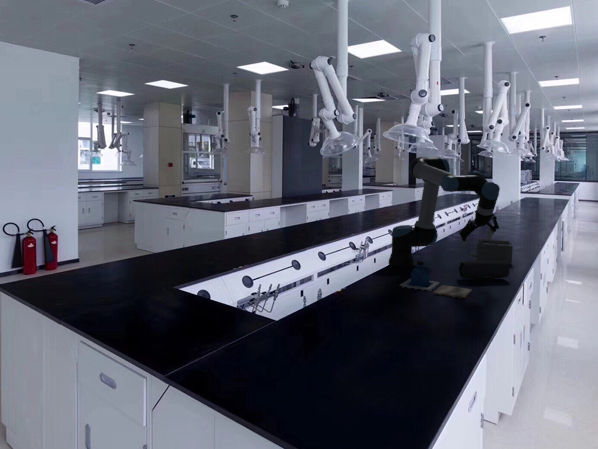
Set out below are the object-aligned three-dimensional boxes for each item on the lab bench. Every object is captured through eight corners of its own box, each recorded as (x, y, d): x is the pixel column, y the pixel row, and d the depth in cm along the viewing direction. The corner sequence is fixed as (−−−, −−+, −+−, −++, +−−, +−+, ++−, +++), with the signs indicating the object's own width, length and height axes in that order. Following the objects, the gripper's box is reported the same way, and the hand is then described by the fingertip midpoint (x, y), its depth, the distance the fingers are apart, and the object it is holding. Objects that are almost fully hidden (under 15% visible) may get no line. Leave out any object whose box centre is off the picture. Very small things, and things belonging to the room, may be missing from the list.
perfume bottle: (419, 288, 213) (420, 263, 211) (410, 284, 218) (411, 261, 216) (429, 286, 215) (429, 262, 214) (420, 283, 221) (420, 260, 219)
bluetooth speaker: (500, 277, 231) (501, 258, 230) (509, 281, 222) (510, 262, 221) (458, 277, 231) (458, 259, 229) (465, 282, 221) (466, 263, 220)
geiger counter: (513, 240, 262) (469, 236, 275) (512, 241, 256) (467, 238, 270) (512, 263, 264) (468, 258, 277) (510, 265, 258) (466, 260, 272)
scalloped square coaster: (399, 286, 215) (399, 284, 215) (410, 280, 227) (410, 278, 227) (430, 291, 206) (430, 289, 206) (439, 284, 219) (439, 282, 219)
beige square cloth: (433, 294, 202) (433, 292, 202) (442, 287, 214) (442, 285, 214) (464, 298, 194) (464, 296, 194) (472, 291, 206) (472, 289, 206)
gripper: (464, 221, 207) (457, 252, 222) (513, 210, 209) (502, 241, 224) (456, 211, 212) (450, 241, 227) (504, 200, 215) (494, 231, 229)
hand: (476, 241), depth 225 cm, fingers open, 13 cm apart
